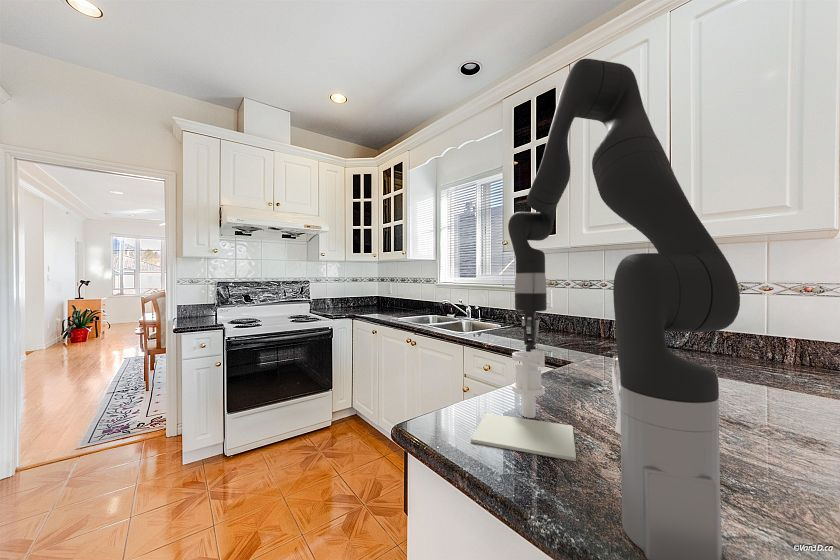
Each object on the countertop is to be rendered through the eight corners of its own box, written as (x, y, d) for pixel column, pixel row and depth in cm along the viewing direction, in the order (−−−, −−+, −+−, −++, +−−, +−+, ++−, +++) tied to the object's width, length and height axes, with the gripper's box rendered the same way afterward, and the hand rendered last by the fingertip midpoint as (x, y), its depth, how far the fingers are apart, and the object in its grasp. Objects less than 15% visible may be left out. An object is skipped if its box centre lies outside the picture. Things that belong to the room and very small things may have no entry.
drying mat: (576, 461, 56) (576, 457, 56) (470, 442, 63) (470, 439, 63) (572, 428, 69) (572, 425, 69) (485, 415, 76) (485, 413, 76)
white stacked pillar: (542, 424, 71) (541, 353, 72) (509, 417, 75) (508, 350, 75) (547, 413, 77) (546, 348, 78) (516, 407, 81) (516, 345, 81)
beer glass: (634, 443, 62) (633, 363, 63) (604, 428, 69) (603, 355, 69) (662, 439, 64) (661, 361, 64) (631, 424, 71) (630, 354, 71)
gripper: (545, 292, 76) (546, 368, 75) (547, 291, 88) (547, 357, 88) (511, 291, 79) (512, 365, 78) (517, 291, 91) (518, 355, 90)
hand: (530, 361), depth 83 cm, fingers closed
